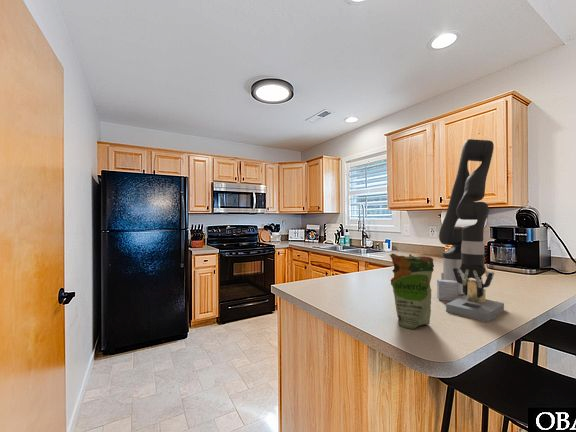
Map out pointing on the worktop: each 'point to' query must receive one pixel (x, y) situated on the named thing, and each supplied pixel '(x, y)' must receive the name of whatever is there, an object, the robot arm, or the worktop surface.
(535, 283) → the worktop surface
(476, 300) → the brass bushing
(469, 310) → the jig plate
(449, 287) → the medicine box
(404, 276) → the pouch
